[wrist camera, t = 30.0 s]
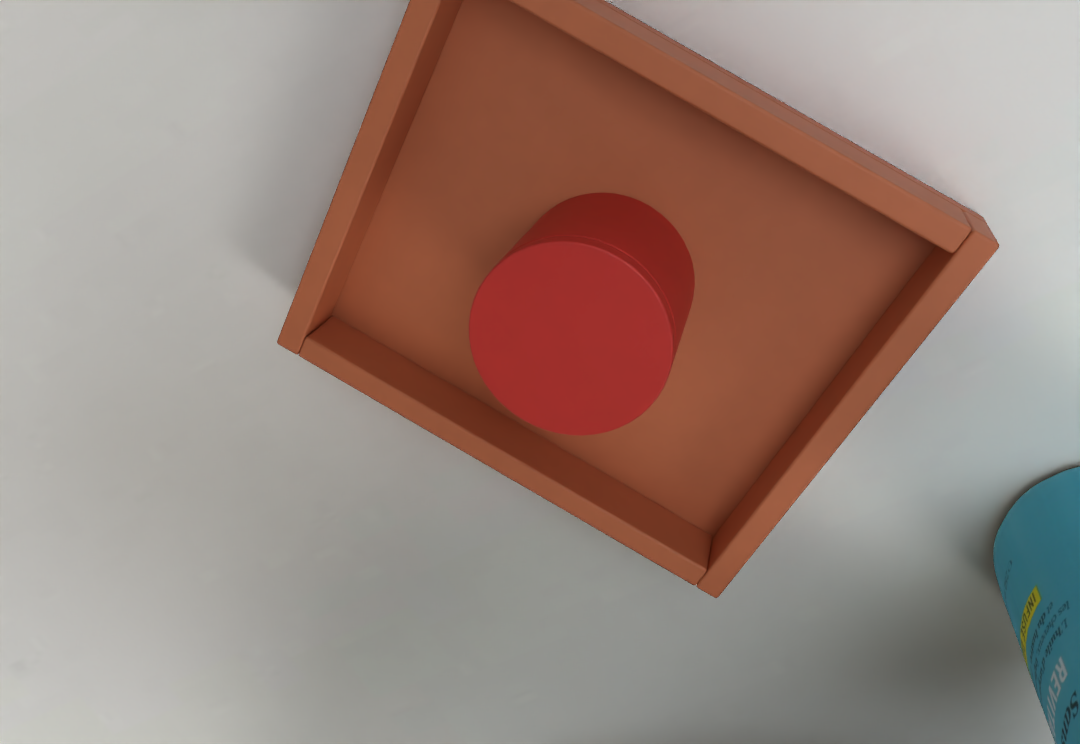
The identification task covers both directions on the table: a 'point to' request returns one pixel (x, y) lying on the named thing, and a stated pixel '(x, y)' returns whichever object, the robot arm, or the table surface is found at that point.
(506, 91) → the tray
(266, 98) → the table surface
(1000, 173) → the table surface
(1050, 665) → the tube
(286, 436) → the table surface
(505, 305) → the cap
